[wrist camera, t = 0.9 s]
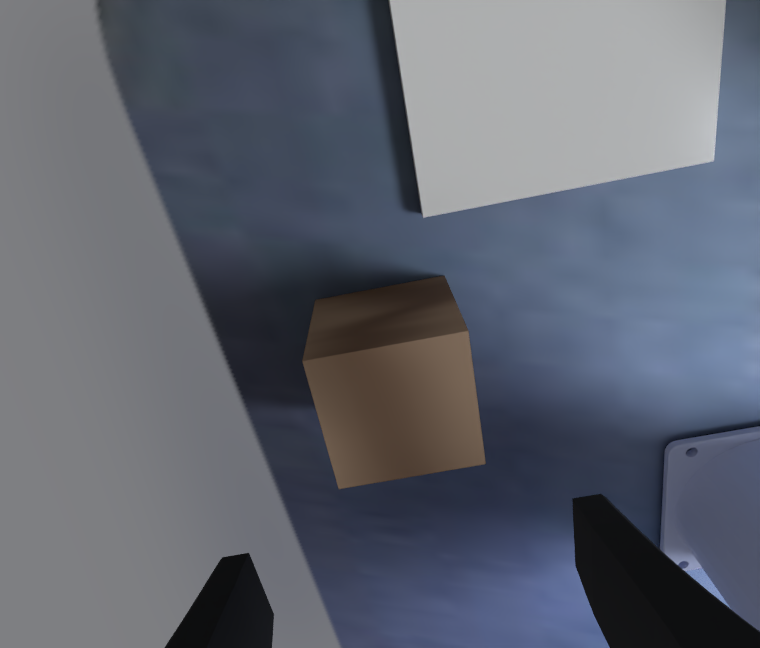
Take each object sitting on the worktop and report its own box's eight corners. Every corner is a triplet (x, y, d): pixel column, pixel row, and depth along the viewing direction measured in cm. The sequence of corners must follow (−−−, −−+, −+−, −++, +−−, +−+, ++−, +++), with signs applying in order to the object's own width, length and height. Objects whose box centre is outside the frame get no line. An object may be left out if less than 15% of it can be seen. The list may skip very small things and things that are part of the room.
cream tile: (728, -218, 14) (743, -229, 14) (703, 158, 18) (714, 161, 18) (367, -136, 15) (367, -144, 14) (421, 213, 19) (423, 217, 18)
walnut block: (444, 274, 20) (468, 330, 16) (460, 385, 22) (485, 464, 18) (315, 299, 20) (302, 361, 16) (343, 406, 22) (338, 489, 18)
